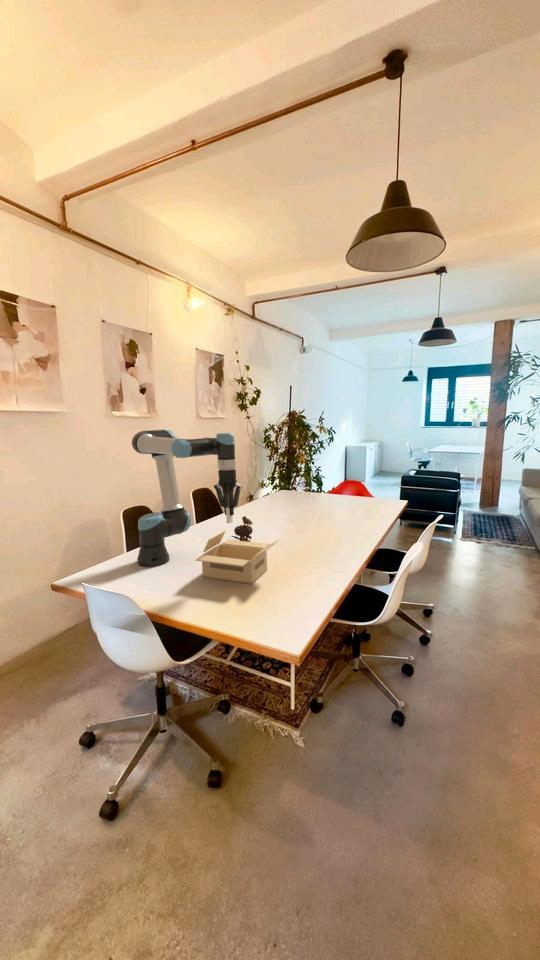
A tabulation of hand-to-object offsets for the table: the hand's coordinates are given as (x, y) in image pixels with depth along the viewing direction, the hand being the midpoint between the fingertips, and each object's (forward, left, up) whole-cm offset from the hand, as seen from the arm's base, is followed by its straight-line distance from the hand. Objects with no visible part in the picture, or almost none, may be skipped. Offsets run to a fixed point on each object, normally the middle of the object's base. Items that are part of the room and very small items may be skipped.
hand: (229, 522), depth 167 cm
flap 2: (+13, 0, -13) cm, 18 cm away
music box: (-6, +25, -24) cm, 35 cm away
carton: (+2, 0, -24) cm, 24 cm away
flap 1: (-10, 0, -13) cm, 16 cm away
